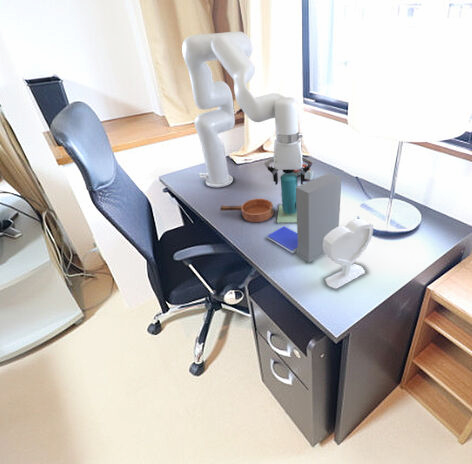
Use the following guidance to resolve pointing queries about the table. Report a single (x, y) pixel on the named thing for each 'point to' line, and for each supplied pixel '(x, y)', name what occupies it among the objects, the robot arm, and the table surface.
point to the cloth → (286, 216)
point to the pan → (257, 210)
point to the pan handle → (230, 207)
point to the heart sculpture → (347, 250)
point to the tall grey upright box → (317, 213)
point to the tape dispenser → (307, 175)
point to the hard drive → (285, 239)
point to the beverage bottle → (289, 191)
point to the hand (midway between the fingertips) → (289, 183)
